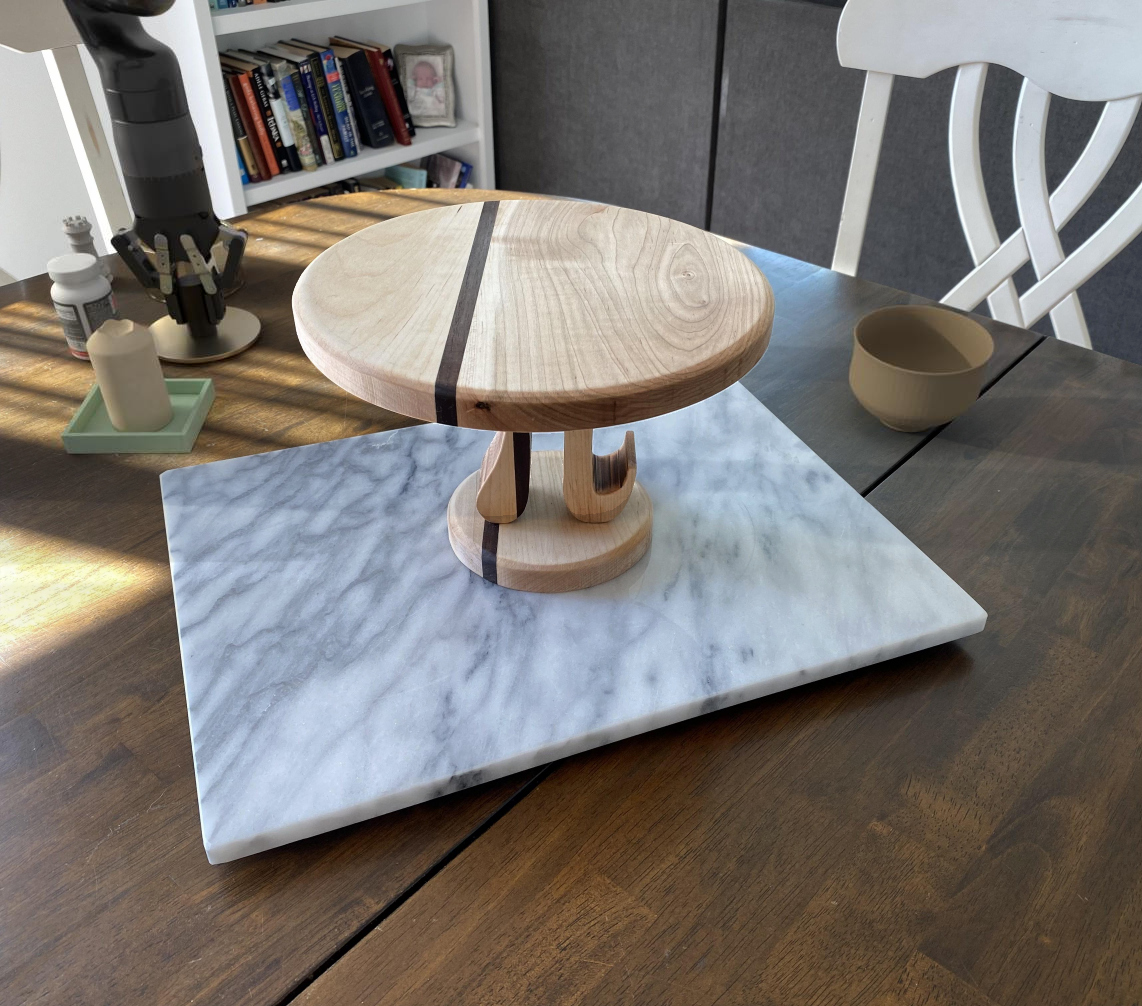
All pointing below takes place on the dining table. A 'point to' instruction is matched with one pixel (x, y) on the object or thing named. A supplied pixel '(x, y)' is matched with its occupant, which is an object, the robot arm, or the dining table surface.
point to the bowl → (918, 365)
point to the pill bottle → (81, 298)
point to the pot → (187, 268)
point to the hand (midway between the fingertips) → (200, 320)
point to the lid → (202, 328)
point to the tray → (178, 436)
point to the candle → (130, 377)
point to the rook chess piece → (84, 241)
